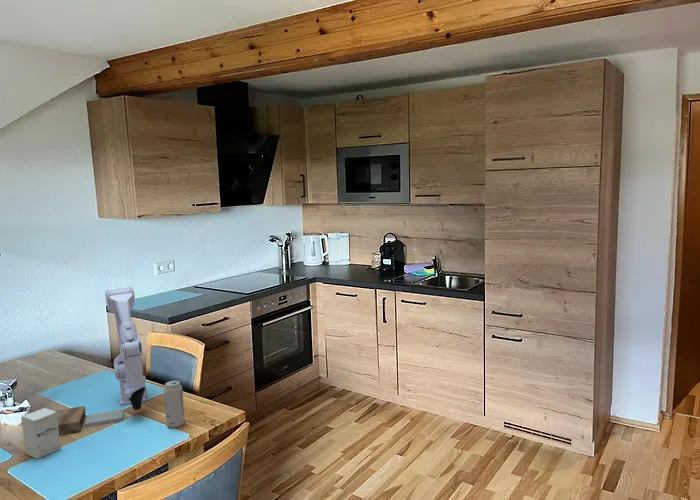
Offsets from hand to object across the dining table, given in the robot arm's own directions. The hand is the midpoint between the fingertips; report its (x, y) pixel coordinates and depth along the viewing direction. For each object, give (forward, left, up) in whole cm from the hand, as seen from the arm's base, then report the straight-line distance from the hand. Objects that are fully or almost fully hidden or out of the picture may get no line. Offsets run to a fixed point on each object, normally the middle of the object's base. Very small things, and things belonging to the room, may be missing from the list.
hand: (137, 409), depth 187 cm
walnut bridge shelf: (+22, 0, -2) cm, 22 cm away
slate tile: (+11, 0, -3) cm, 11 cm away
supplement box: (+27, +17, -2) cm, 32 cm away
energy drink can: (-13, +15, -2) cm, 20 cm away
